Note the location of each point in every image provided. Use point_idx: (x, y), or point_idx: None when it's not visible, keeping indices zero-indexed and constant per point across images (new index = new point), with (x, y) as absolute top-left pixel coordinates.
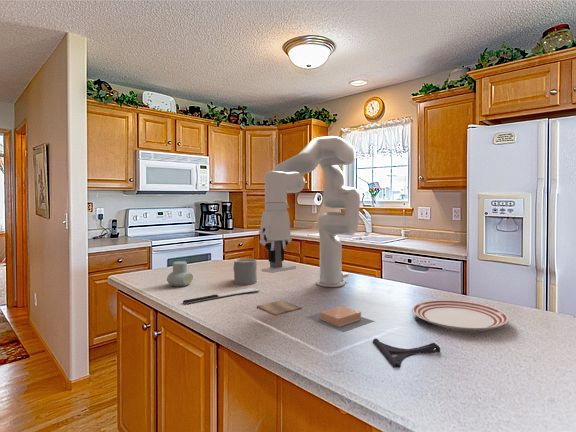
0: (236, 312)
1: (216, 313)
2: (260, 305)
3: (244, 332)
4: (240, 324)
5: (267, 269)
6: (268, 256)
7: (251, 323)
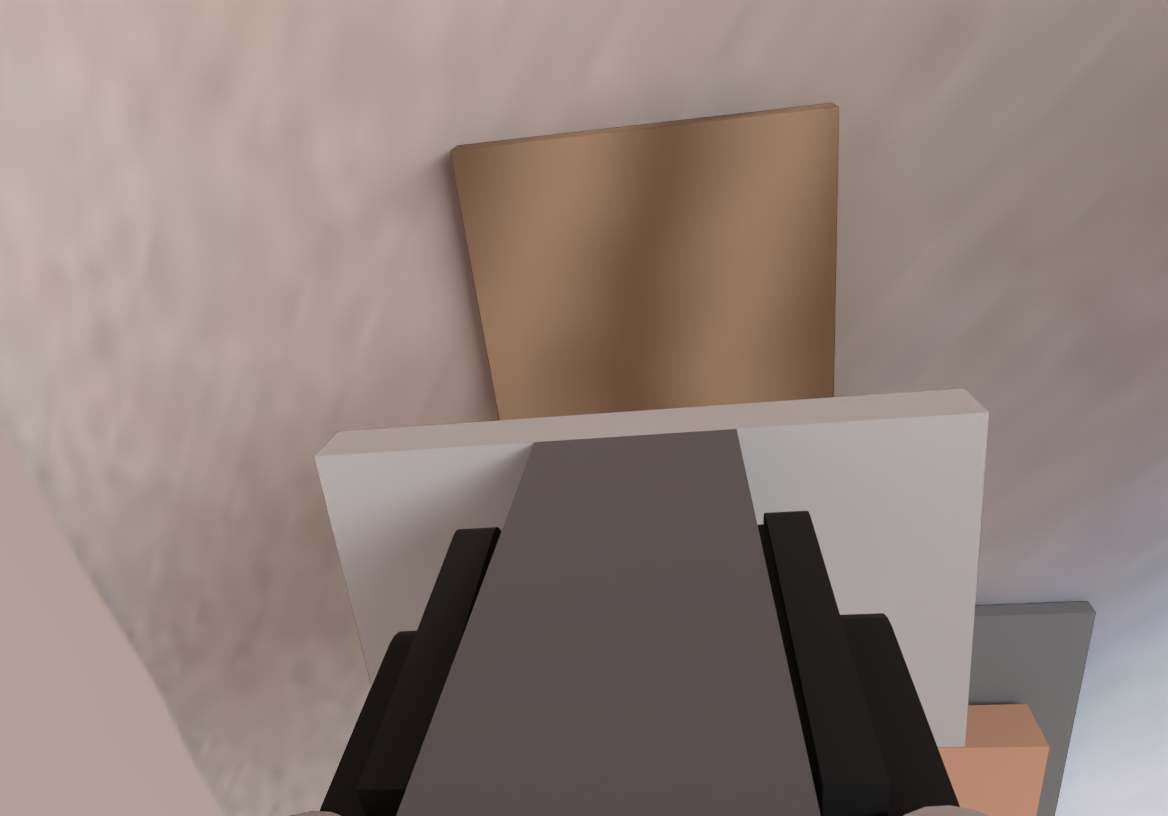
0: (218, 134)
1: (5, 40)
2: (496, 160)
3: (180, 581)
4: (185, 444)
5: (359, 632)
6: (380, 693)
7: (274, 471)
